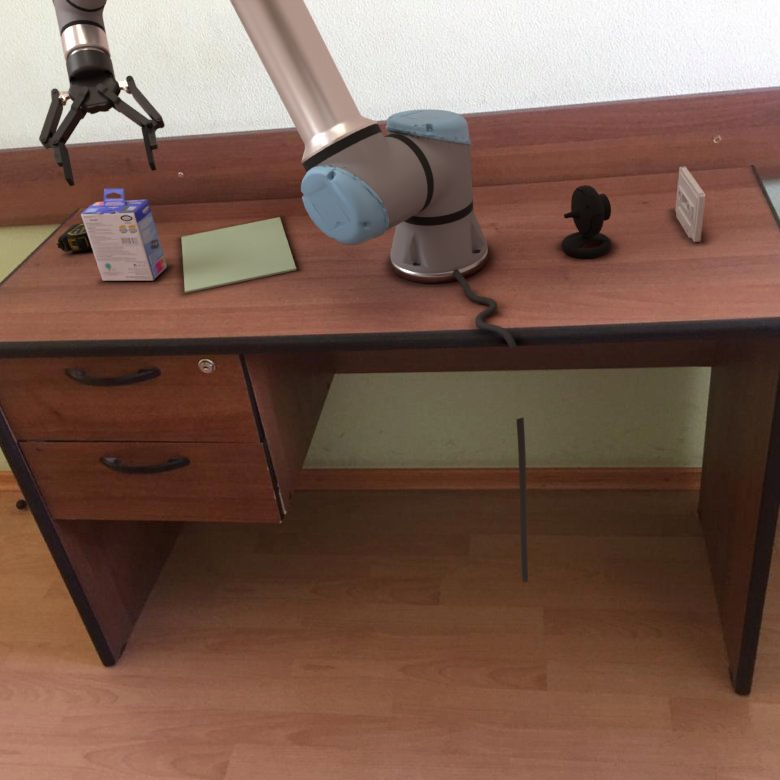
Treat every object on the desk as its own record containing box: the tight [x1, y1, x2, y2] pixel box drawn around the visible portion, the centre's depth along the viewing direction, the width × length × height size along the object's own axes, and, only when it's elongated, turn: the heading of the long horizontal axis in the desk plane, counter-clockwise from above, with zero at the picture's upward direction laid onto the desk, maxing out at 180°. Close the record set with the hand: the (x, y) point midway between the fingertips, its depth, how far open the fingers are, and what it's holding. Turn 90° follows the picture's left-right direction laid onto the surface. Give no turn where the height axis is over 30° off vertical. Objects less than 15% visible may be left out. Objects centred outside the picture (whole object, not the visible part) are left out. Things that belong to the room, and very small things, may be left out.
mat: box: [181, 216, 297, 294], centre depth 142 cm, size 22×18×1 cm
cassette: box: [674, 165, 707, 243], centre depth 129 cm, size 12×2×8 cm, turn 178°
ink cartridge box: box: [80, 187, 168, 282], centre depth 136 cm, size 10×6×14 cm, turn 78°
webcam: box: [561, 184, 612, 259], centre depth 126 cm, size 8×8×10 cm
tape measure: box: [56, 221, 92, 252], centre depth 151 cm, size 7×7×4 cm
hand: (111, 174), depth 138 cm, fingers open, 13 cm apart
